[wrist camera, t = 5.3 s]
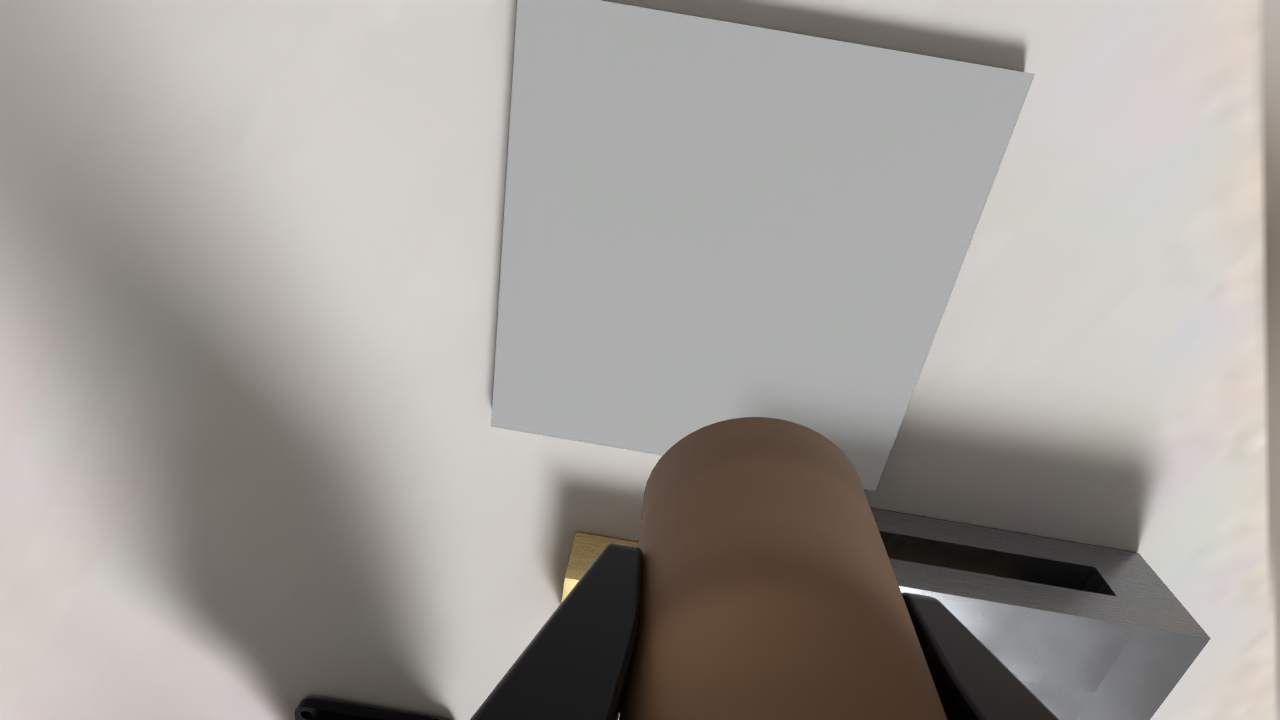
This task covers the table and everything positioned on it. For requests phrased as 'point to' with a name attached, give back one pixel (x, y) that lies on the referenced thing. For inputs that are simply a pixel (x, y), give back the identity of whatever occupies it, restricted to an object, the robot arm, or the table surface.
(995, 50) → the table surface
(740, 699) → the walnut peg
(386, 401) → the table surface
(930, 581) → the grey block with slider
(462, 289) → the table surface
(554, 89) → the grey mat
